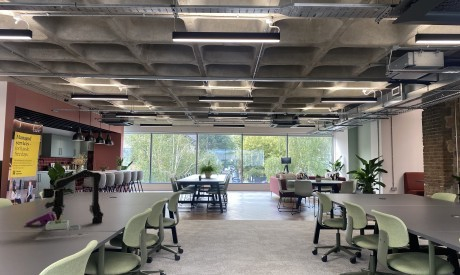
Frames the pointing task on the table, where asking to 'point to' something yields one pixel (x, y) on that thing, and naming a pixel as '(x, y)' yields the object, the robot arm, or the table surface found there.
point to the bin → (57, 225)
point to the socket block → (74, 227)
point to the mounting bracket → (43, 219)
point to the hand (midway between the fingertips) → (58, 219)
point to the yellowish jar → (57, 220)
